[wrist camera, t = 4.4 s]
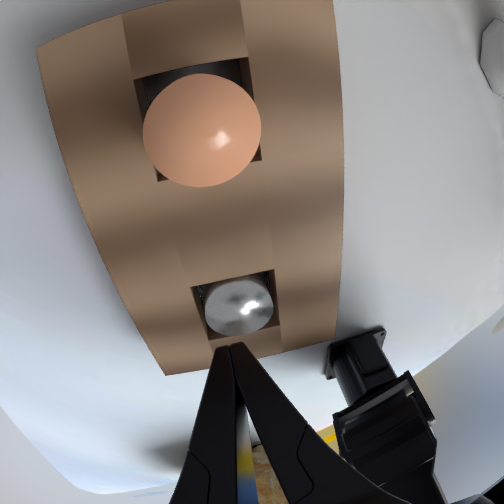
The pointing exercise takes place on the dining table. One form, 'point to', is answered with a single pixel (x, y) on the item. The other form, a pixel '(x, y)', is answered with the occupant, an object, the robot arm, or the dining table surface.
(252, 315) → the steel plunger
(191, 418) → the dining table surface
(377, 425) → the robot arm
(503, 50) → the flask
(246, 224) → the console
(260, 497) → the rough brown rock
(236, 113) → the peach rounded cylinder
